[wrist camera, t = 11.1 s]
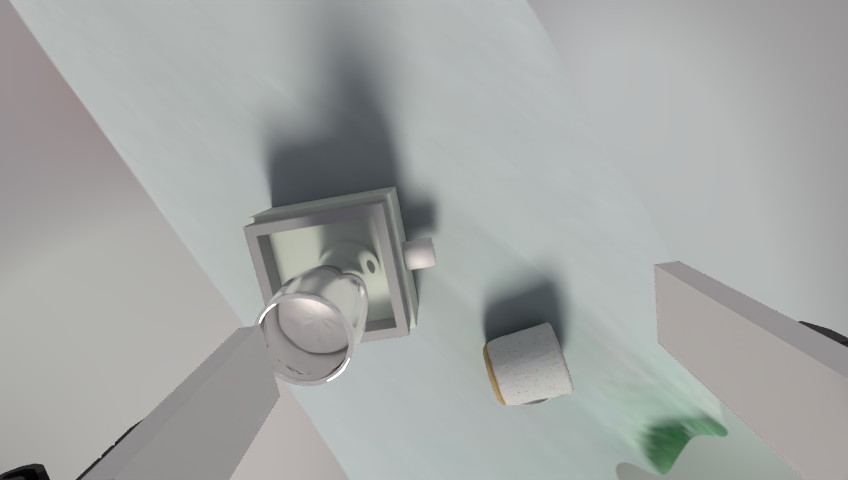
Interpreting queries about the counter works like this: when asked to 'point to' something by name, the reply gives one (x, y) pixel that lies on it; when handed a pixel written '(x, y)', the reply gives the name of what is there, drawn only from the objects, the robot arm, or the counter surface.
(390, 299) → the grey box with knob
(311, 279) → the beer glass
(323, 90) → the counter surface
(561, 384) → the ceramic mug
